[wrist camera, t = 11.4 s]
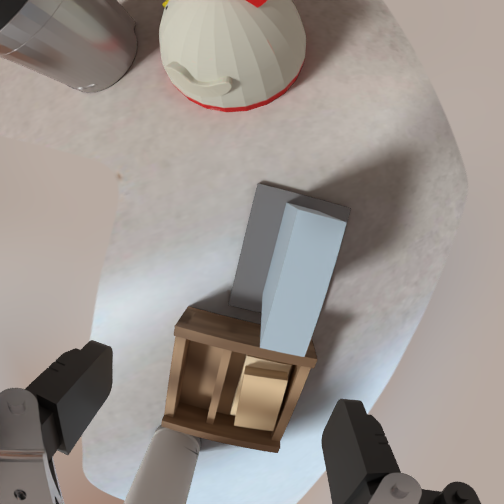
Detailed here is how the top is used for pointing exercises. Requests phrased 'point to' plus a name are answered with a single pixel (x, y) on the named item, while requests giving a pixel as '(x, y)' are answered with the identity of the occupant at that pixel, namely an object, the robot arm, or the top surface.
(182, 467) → the travel mug
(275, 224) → the mat
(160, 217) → the top surface
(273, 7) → the kitchen timer
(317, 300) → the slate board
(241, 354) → the rack
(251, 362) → the offcut lower
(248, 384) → the offcut upper
